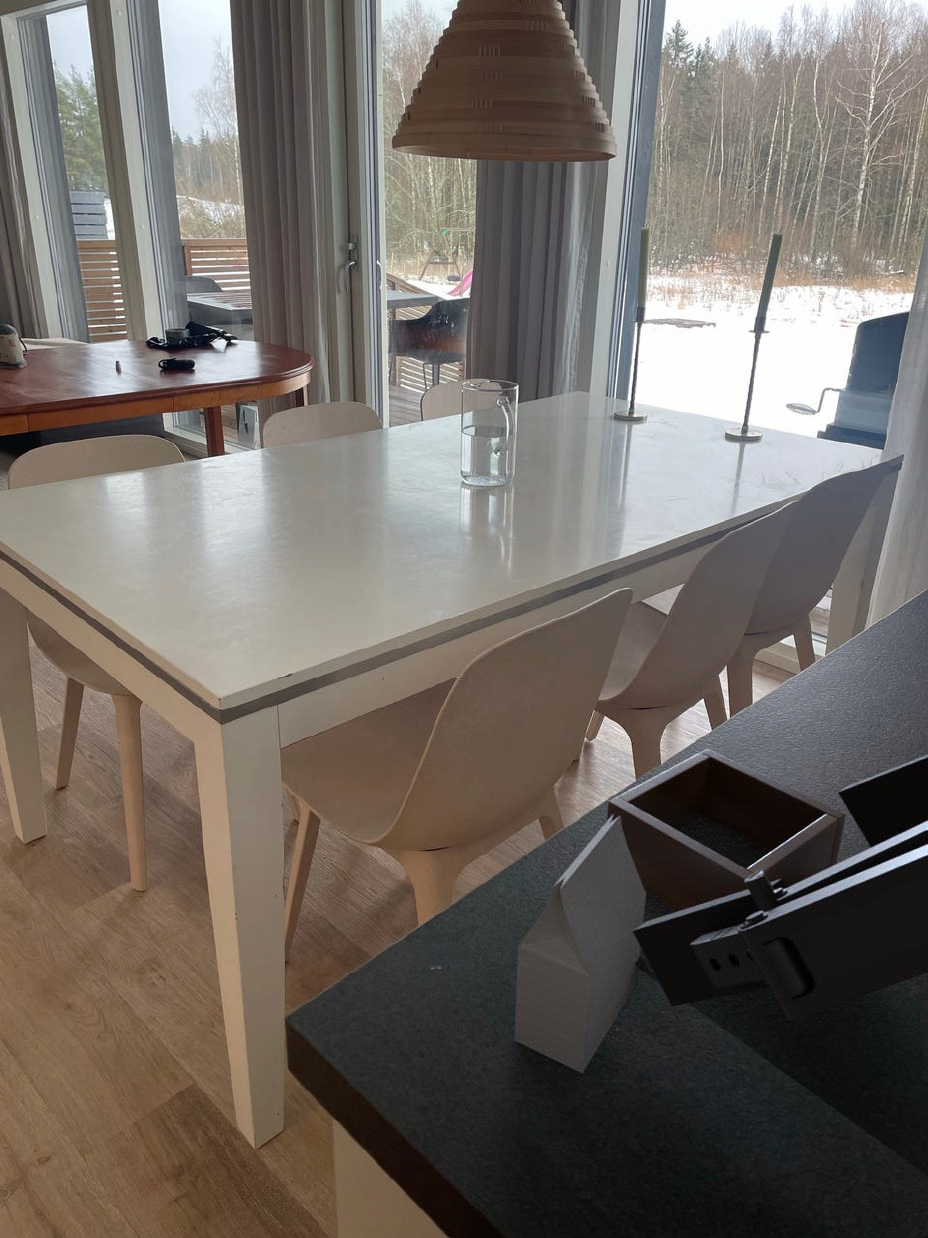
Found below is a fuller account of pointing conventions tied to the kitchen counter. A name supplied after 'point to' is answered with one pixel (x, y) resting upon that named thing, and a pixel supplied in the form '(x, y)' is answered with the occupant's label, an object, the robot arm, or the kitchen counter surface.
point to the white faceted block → (581, 953)
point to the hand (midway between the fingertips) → (769, 882)
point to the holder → (739, 803)
